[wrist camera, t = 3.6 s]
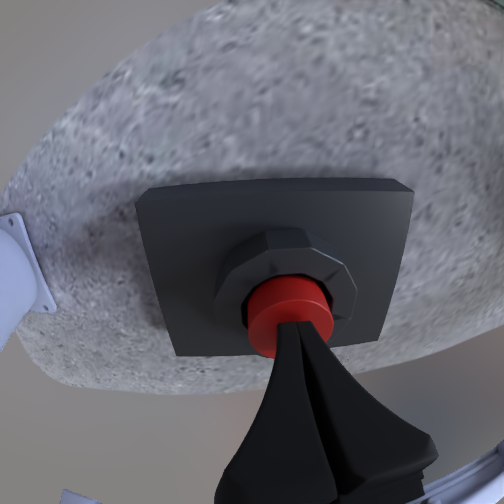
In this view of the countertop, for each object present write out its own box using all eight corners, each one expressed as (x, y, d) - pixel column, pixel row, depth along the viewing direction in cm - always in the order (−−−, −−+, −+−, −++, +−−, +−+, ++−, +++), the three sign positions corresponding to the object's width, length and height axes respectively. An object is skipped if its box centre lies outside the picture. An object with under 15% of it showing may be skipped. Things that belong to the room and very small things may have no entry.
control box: (181, 332, 18) (172, 379, 15) (148, 188, 14) (119, 218, 10) (367, 318, 19) (387, 360, 15) (394, 178, 14) (435, 205, 10)
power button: (249, 336, 14) (250, 362, 12) (245, 276, 12) (245, 303, 10) (320, 330, 14) (327, 355, 12) (328, 271, 12) (339, 295, 11)
